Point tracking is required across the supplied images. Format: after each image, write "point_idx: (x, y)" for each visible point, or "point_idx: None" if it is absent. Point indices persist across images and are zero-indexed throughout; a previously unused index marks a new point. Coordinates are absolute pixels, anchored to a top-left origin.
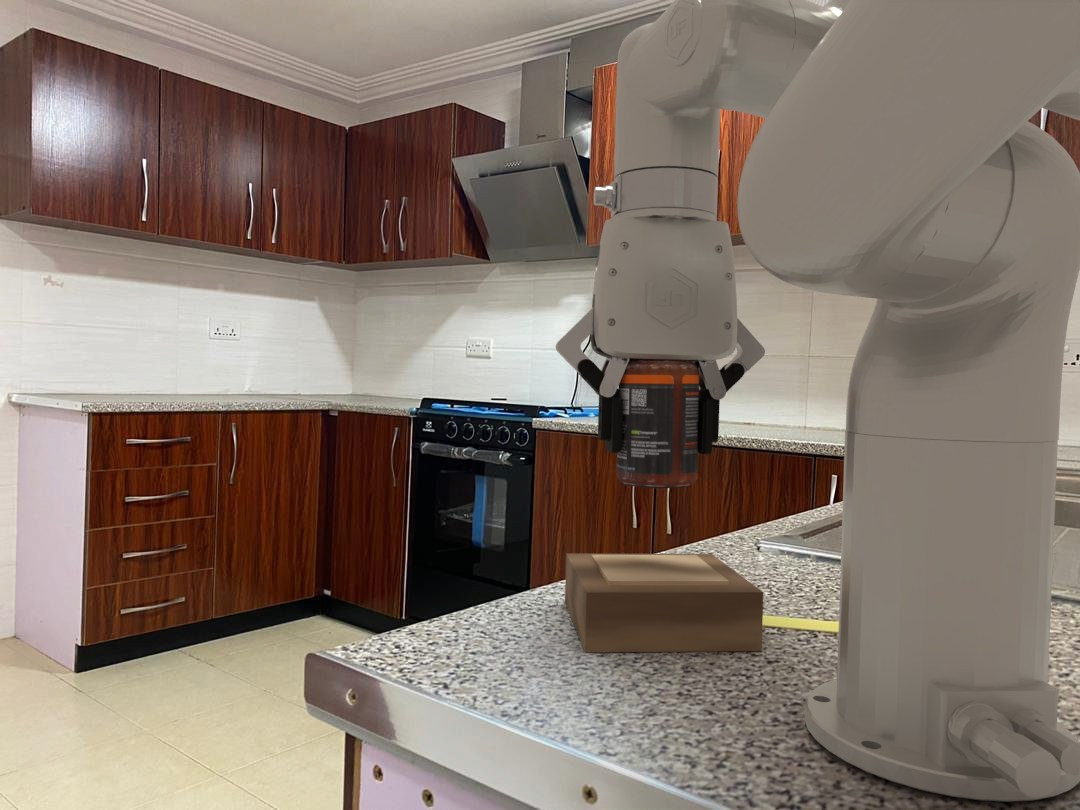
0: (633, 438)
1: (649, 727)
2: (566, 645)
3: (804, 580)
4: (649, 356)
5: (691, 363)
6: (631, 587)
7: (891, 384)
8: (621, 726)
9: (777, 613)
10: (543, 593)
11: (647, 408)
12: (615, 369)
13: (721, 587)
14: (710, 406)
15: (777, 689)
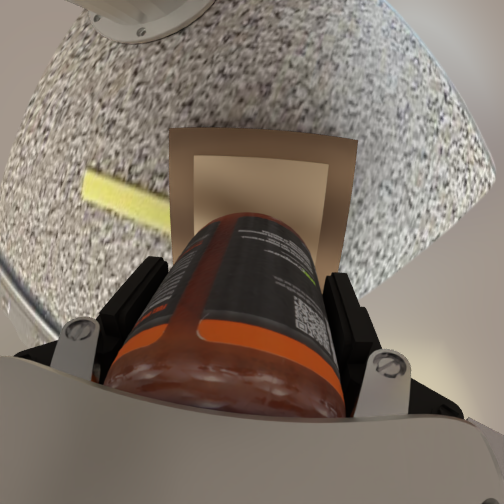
0: (310, 273)
1: (326, 2)
2: None
3: None
4: (294, 418)
5: None
6: (305, 152)
7: None
8: (344, 7)
9: (140, 230)
10: None
11: (290, 289)
12: (385, 409)
13: (205, 146)
14: (112, 305)
15: (209, 48)
